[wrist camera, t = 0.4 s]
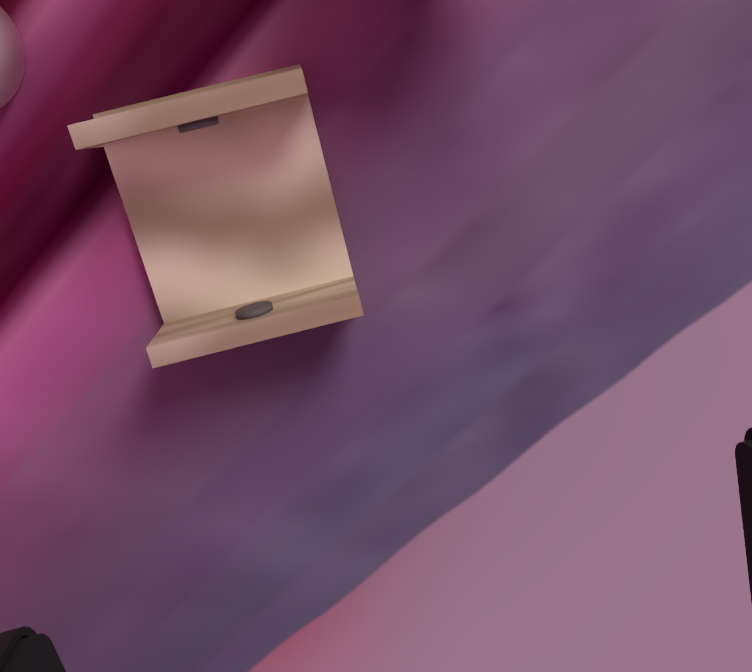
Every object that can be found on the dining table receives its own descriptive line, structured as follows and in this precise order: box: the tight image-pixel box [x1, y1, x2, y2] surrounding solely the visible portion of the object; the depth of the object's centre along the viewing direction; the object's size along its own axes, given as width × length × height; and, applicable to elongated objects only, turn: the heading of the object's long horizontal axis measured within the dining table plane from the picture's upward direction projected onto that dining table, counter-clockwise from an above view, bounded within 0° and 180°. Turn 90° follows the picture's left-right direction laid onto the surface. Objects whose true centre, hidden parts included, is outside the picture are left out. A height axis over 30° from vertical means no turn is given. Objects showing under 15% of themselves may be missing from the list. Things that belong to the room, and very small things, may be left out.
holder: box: [67, 64, 364, 368], centre depth 33 cm, size 12×10×5 cm
